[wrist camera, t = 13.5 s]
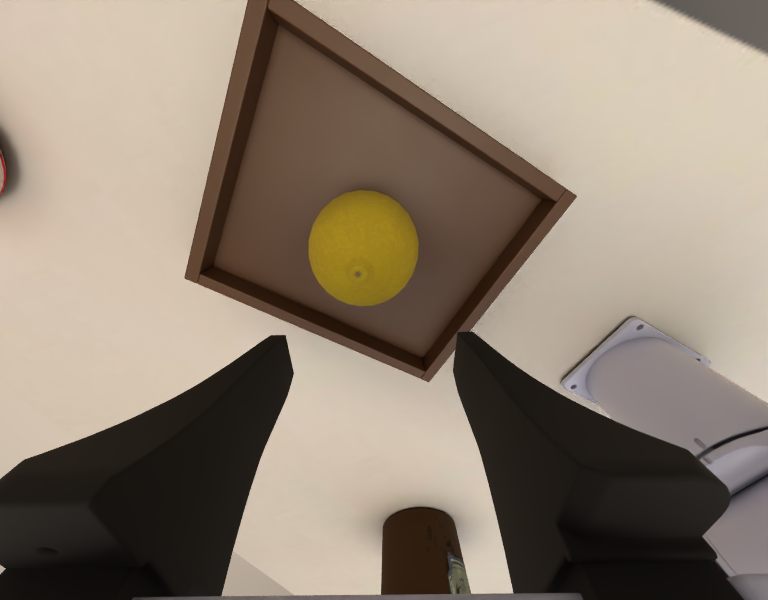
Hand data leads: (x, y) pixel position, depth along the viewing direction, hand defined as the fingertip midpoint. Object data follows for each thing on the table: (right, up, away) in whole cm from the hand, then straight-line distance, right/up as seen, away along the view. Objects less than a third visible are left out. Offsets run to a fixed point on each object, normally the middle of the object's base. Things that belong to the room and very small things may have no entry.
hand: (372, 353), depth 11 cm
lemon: (0, +7, +6) cm, 9 cm away
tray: (0, +7, +7) cm, 10 cm away
